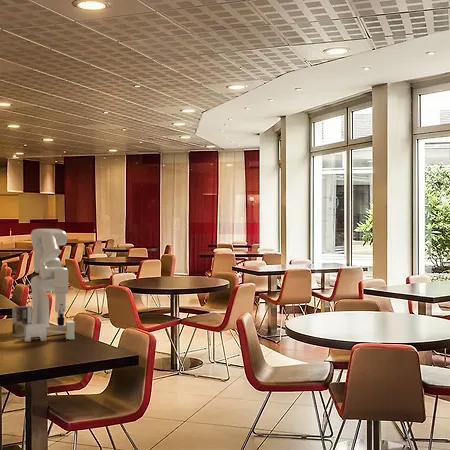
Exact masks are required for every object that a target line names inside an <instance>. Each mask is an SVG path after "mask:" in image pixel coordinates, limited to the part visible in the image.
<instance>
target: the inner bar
mask: <svg viewBox="0 0 450 450" xmlns="http://www.w3.org/2000/svg"><path fill="white" fill-rule="evenodd" d="M66 333H67V325H66V324H64V325H58V324H57V325H49V326H47V335H48V334H49V335H50V334H51V335H53V334H55V335H57V334H66Z"/></svg>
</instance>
